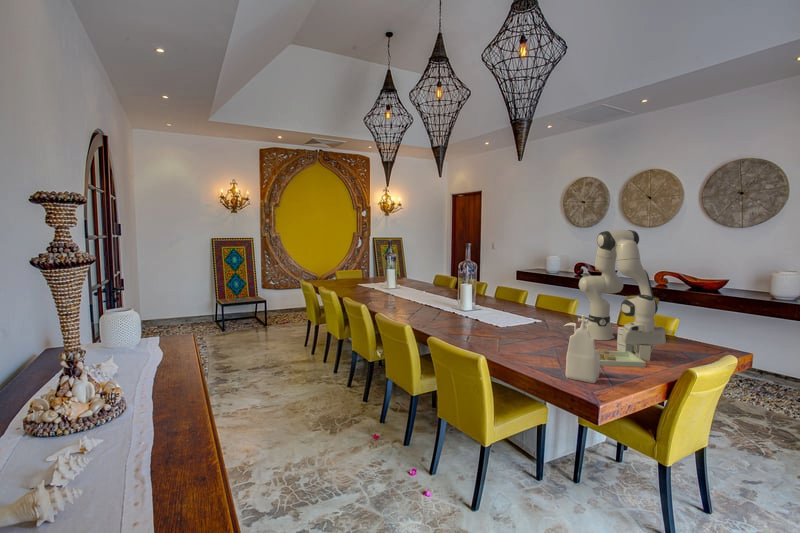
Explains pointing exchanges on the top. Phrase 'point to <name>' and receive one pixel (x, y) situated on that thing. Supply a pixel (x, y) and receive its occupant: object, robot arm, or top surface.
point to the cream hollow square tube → (643, 351)
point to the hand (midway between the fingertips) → (642, 352)
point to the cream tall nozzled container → (582, 355)
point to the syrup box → (620, 344)
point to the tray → (624, 360)
